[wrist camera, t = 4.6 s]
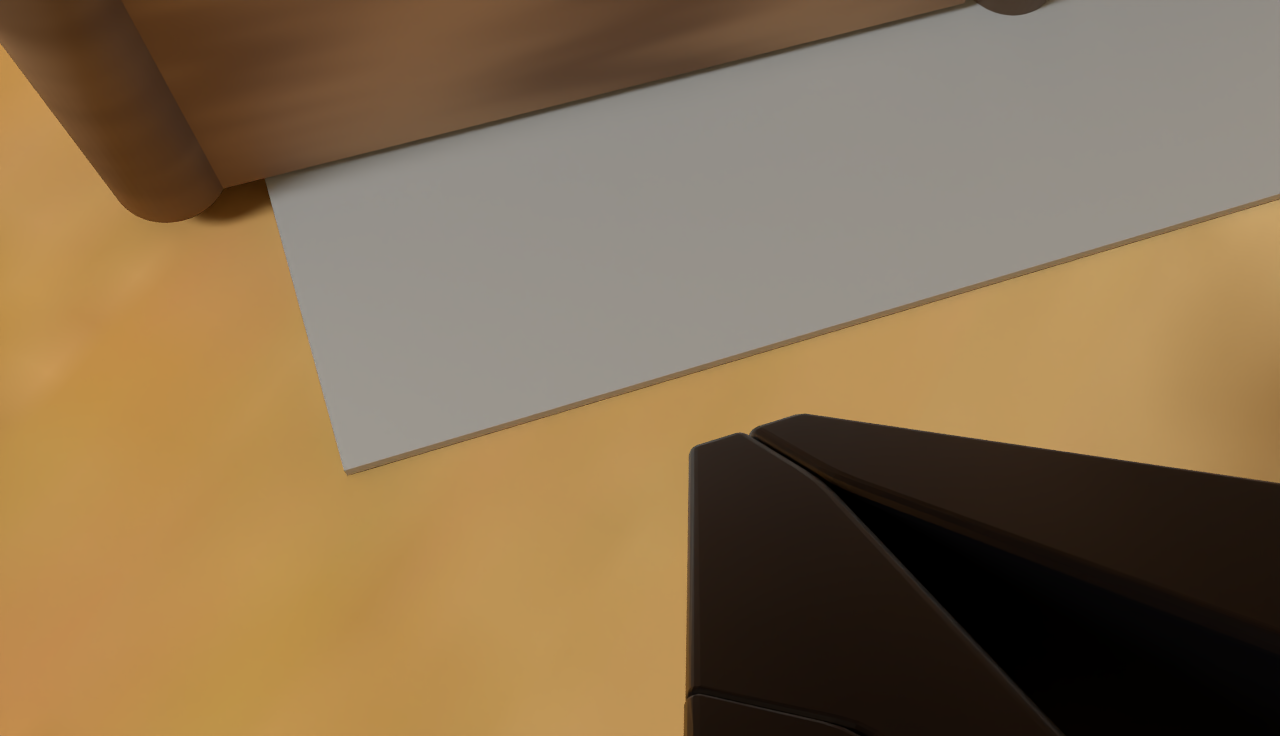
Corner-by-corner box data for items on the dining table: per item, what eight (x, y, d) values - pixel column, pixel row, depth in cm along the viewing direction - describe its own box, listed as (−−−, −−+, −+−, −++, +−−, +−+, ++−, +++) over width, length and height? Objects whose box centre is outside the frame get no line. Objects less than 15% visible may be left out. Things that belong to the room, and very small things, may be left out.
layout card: (1543, 120, 25) (1561, 109, 25) (347, 475, 21) (344, 470, 20) (1283, -333, 28) (1295, -350, 28) (188, -107, 24) (182, -122, 23)
